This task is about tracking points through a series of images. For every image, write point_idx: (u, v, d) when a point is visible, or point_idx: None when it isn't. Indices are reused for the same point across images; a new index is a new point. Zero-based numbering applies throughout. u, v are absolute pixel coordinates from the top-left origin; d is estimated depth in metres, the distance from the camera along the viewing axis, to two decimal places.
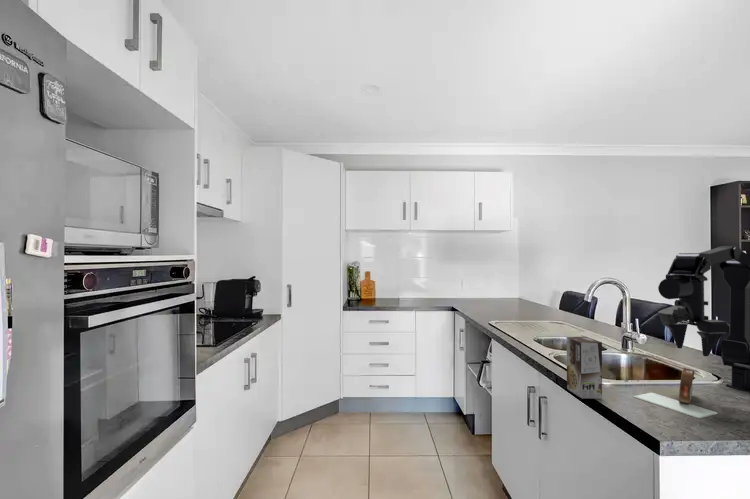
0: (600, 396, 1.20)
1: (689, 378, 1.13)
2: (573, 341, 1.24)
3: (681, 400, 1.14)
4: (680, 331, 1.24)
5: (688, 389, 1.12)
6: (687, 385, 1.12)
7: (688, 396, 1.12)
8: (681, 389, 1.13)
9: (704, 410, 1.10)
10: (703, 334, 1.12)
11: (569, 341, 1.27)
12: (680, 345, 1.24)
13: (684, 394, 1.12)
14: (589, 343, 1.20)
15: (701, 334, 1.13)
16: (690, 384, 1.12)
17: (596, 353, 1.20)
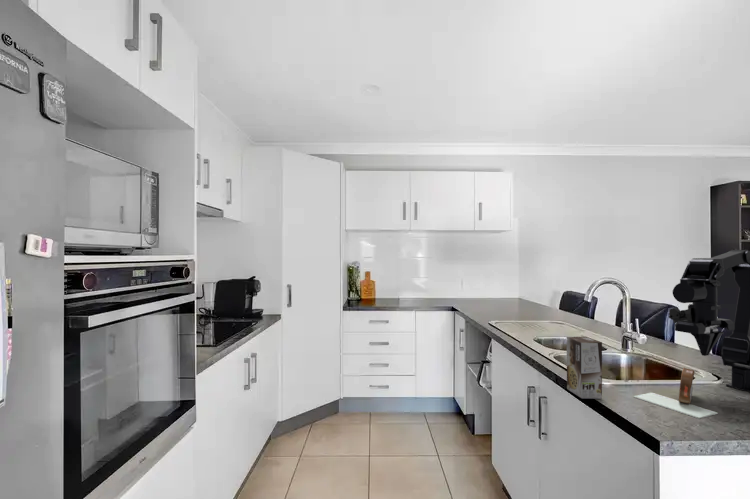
0: (600, 396, 1.20)
1: (689, 378, 1.13)
2: (573, 341, 1.24)
3: (681, 400, 1.14)
4: None
5: (688, 389, 1.12)
6: (687, 385, 1.12)
7: (688, 396, 1.12)
8: (681, 389, 1.13)
9: (704, 410, 1.10)
10: None
11: (569, 341, 1.27)
12: None
13: (684, 394, 1.12)
14: (589, 343, 1.20)
15: None
16: (690, 384, 1.12)
17: (596, 353, 1.20)
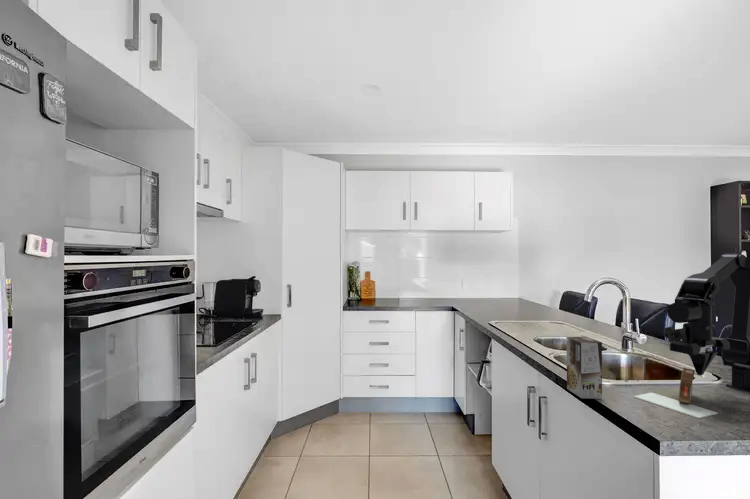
0: (600, 396, 1.20)
1: (689, 378, 1.13)
2: (573, 341, 1.24)
3: (681, 400, 1.14)
4: None
5: (688, 389, 1.12)
6: (687, 385, 1.12)
7: (688, 396, 1.12)
8: (681, 389, 1.13)
9: (704, 410, 1.10)
10: None
11: (569, 341, 1.27)
12: None
13: (684, 394, 1.12)
14: (589, 343, 1.20)
15: None
16: (690, 384, 1.12)
17: (596, 353, 1.20)
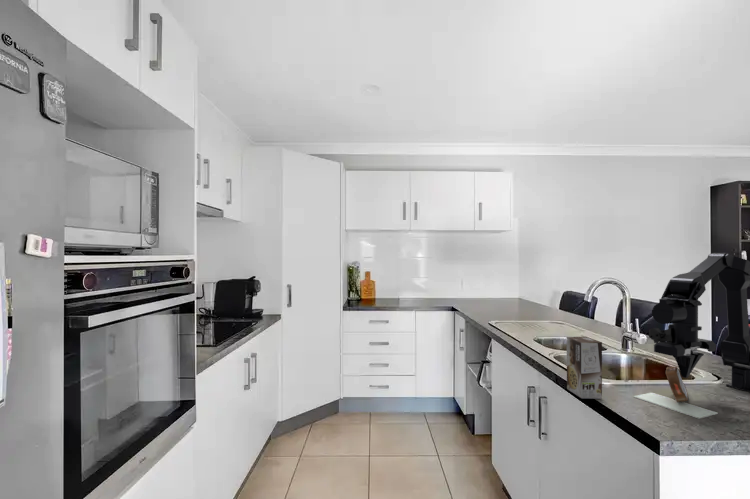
0: (600, 396, 1.20)
1: (674, 375, 1.15)
2: (573, 341, 1.24)
3: (678, 399, 1.14)
4: None
5: (678, 386, 1.13)
6: (675, 382, 1.13)
7: (682, 393, 1.12)
8: (672, 388, 1.13)
9: (704, 410, 1.10)
10: None
11: (569, 341, 1.27)
12: None
13: (678, 392, 1.13)
14: (589, 343, 1.20)
15: None
16: (677, 380, 1.13)
17: (596, 353, 1.20)
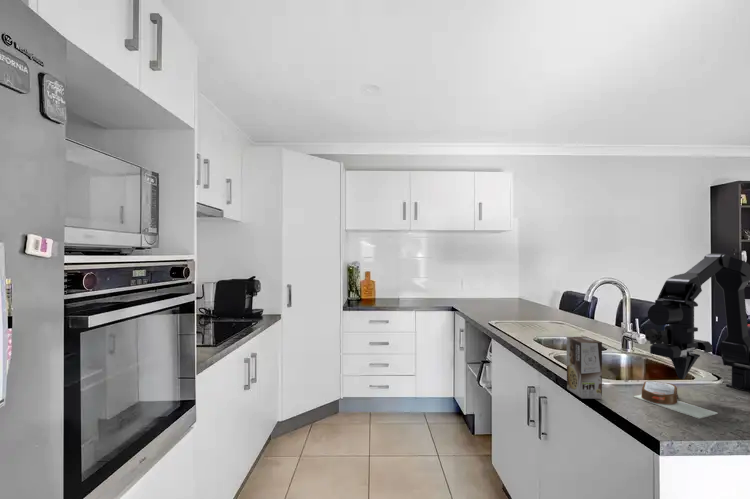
0: (600, 396, 1.20)
1: (644, 393, 1.18)
2: (573, 341, 1.24)
3: (671, 401, 1.14)
4: None
5: (655, 395, 1.16)
6: (651, 395, 1.16)
7: (663, 396, 1.15)
8: (657, 401, 1.15)
9: (704, 410, 1.10)
10: None
11: (569, 341, 1.27)
12: None
13: (661, 399, 1.15)
14: (589, 343, 1.20)
15: None
16: (649, 393, 1.17)
17: (596, 353, 1.20)
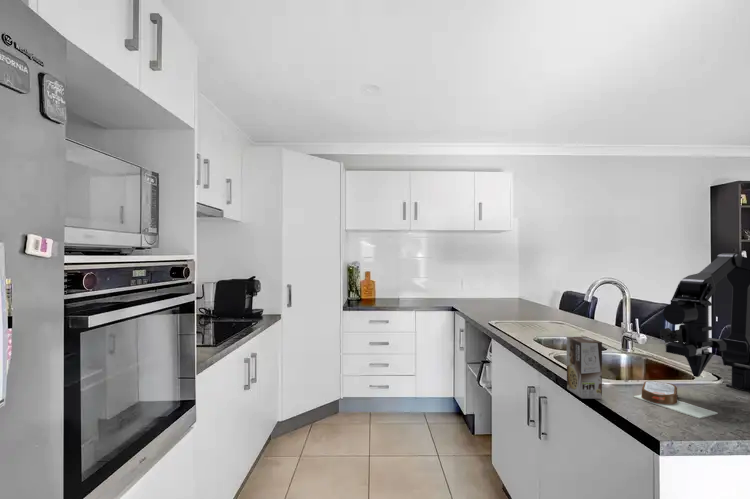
0: (600, 396, 1.20)
1: (644, 393, 1.18)
2: (573, 341, 1.24)
3: (671, 401, 1.14)
4: None
5: (655, 395, 1.16)
6: (651, 395, 1.16)
7: (663, 396, 1.15)
8: (657, 401, 1.15)
9: (704, 410, 1.10)
10: None
11: (569, 341, 1.27)
12: None
13: (661, 399, 1.15)
14: (589, 343, 1.20)
15: None
16: (649, 393, 1.17)
17: (596, 353, 1.20)
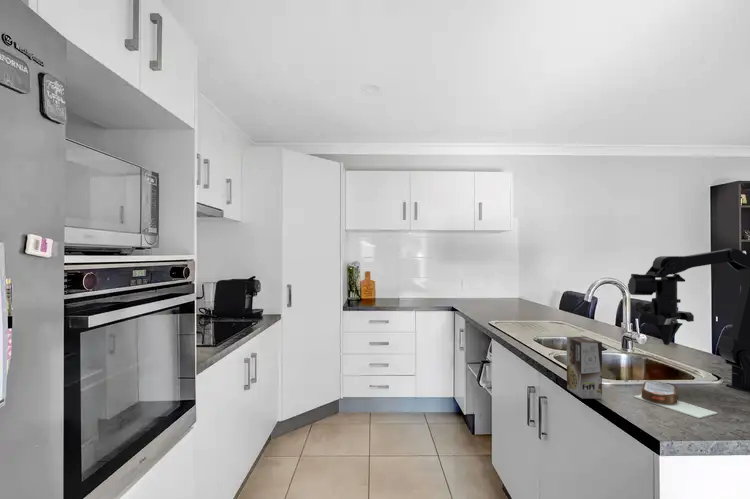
0: (600, 396, 1.20)
1: (644, 393, 1.18)
2: (573, 341, 1.24)
3: (671, 401, 1.14)
4: None
5: (655, 395, 1.16)
6: (651, 395, 1.16)
7: (663, 396, 1.15)
8: (657, 401, 1.15)
9: (704, 410, 1.10)
10: None
11: (569, 341, 1.27)
12: None
13: (661, 399, 1.15)
14: (589, 343, 1.20)
15: None
16: (649, 393, 1.17)
17: (596, 353, 1.20)
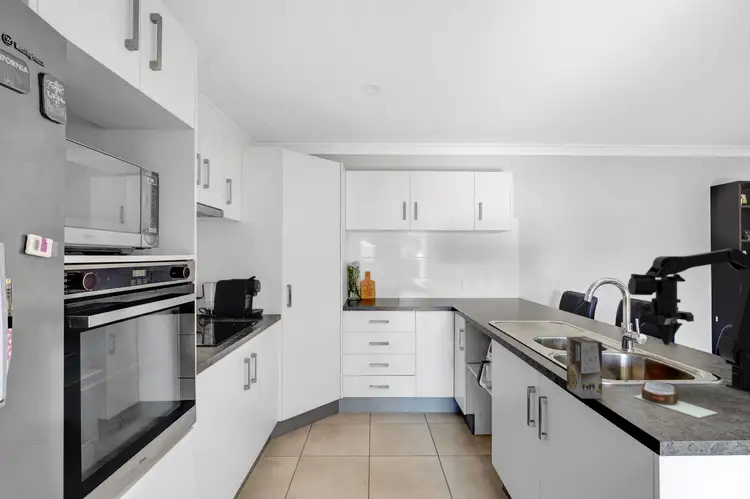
0: (600, 396, 1.20)
1: (644, 393, 1.18)
2: (573, 341, 1.24)
3: (671, 401, 1.14)
4: None
5: (655, 395, 1.16)
6: (651, 395, 1.16)
7: (663, 396, 1.15)
8: (657, 401, 1.15)
9: (704, 410, 1.10)
10: None
11: (569, 341, 1.27)
12: None
13: (661, 399, 1.15)
14: (589, 343, 1.20)
15: None
16: (649, 393, 1.17)
17: (596, 353, 1.20)
